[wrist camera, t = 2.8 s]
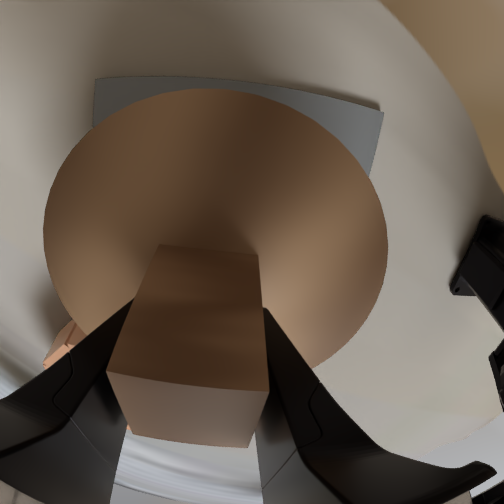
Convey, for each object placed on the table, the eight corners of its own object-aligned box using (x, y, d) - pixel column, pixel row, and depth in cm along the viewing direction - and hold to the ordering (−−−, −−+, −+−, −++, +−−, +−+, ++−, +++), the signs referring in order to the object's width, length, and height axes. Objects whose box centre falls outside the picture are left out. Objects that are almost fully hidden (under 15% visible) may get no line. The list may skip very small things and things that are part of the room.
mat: (380, 111, 12) (384, 112, 12) (316, 325, 19) (317, 329, 19) (99, 79, 11) (95, 79, 11) (111, 303, 18) (109, 307, 18)
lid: (421, 134, 8) (554, 200, 3) (323, 382, 15) (342, 477, 10) (42, 94, 7) (-93, 133, 2) (87, 357, 13) (54, 446, 8)
